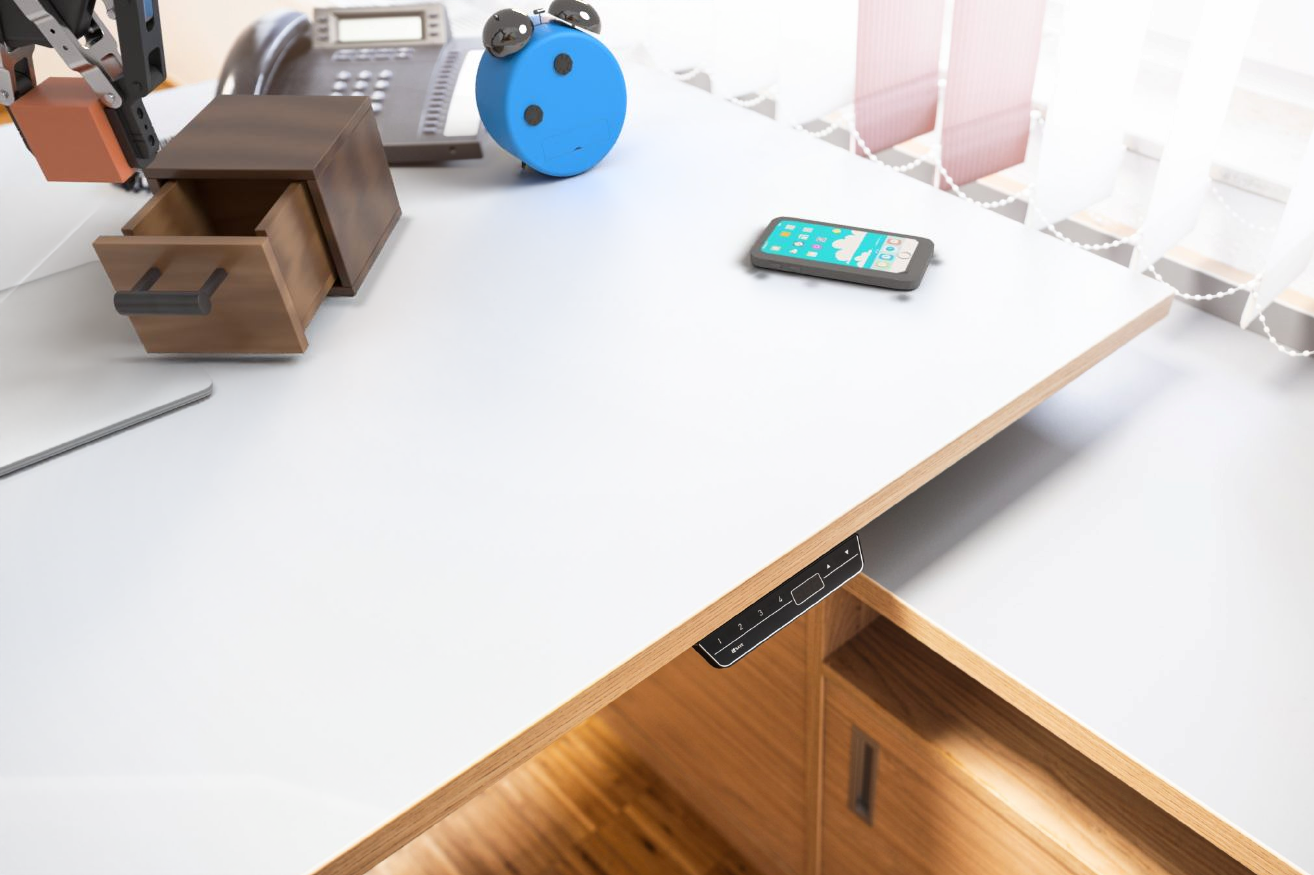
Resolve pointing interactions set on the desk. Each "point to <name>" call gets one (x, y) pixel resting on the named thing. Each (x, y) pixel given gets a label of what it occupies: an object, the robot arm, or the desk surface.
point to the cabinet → (298, 165)
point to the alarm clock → (550, 88)
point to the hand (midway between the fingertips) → (100, 161)
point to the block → (70, 133)
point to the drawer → (221, 267)
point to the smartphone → (843, 252)
